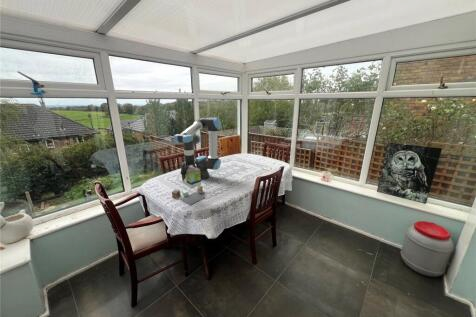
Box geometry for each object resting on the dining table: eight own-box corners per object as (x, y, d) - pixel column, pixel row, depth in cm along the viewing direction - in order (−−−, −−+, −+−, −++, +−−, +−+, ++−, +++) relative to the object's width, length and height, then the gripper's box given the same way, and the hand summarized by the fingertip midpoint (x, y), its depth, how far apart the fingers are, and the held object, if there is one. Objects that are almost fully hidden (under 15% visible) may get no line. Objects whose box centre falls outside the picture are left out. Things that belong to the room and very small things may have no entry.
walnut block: (175, 194, 168) (175, 189, 167) (180, 195, 167) (179, 190, 165) (172, 196, 164) (171, 191, 162) (176, 197, 162) (176, 192, 161)
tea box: (201, 185, 155) (200, 168, 150) (191, 189, 148) (189, 172, 143) (192, 179, 165) (190, 164, 160) (182, 183, 158) (180, 167, 154)
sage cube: (187, 193, 169) (186, 190, 168) (188, 195, 166) (188, 191, 164) (182, 195, 167) (182, 191, 165) (184, 197, 164) (183, 193, 162)
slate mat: (195, 192, 171) (195, 191, 171) (205, 197, 163) (205, 197, 162) (180, 199, 160) (180, 198, 159) (190, 205, 151) (190, 204, 151)
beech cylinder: (200, 190, 175) (200, 184, 173) (204, 192, 172) (203, 186, 170) (196, 192, 171) (195, 186, 169) (199, 194, 168) (199, 188, 166)
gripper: (197, 150, 159) (199, 174, 166) (173, 156, 142) (176, 182, 149) (203, 152, 154) (204, 176, 161) (179, 158, 137) (182, 185, 145)
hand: (191, 179), depth 155 cm, fingers closed on tea box, 10 cm apart
